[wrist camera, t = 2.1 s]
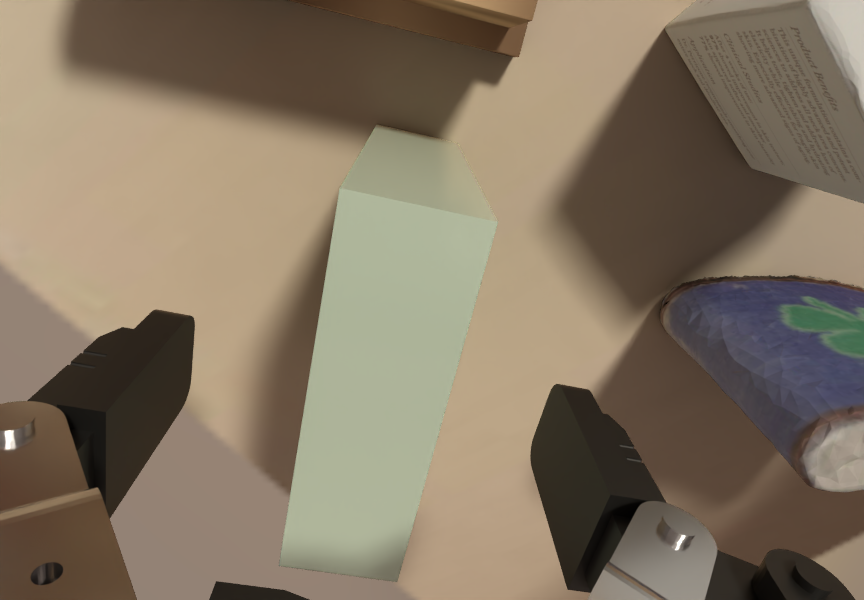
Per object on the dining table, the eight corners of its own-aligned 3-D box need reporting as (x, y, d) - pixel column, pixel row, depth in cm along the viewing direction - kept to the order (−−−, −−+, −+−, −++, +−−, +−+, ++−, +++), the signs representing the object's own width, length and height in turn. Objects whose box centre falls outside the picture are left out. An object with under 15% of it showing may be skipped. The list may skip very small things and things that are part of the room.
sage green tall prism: (457, 142, 19) (498, 222, 10) (404, 367, 22) (397, 581, 13) (376, 124, 19) (339, 187, 9) (335, 355, 22) (278, 565, 13)
